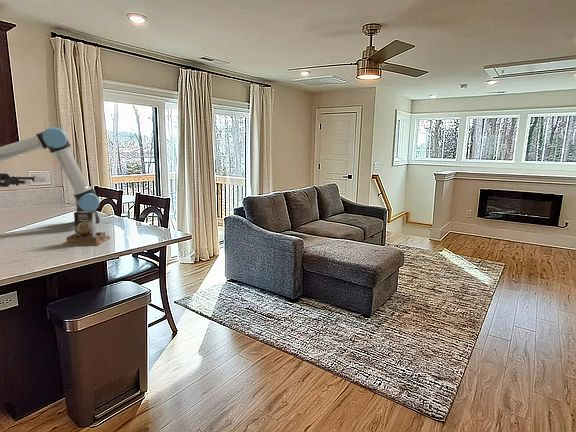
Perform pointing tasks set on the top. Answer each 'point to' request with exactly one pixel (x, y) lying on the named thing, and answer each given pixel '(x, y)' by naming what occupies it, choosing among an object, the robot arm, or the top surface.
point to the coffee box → (85, 223)
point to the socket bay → (87, 239)
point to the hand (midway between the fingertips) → (39, 180)
